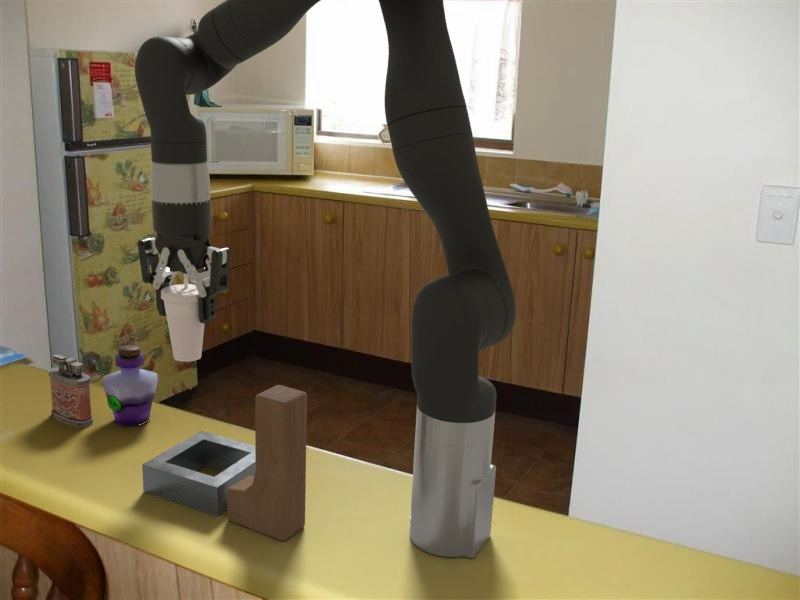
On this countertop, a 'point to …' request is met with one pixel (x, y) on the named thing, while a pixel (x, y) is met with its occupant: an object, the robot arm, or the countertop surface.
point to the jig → (185, 486)
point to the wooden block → (275, 467)
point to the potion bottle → (130, 388)
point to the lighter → (70, 392)
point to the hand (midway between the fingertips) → (186, 318)
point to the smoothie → (184, 320)
